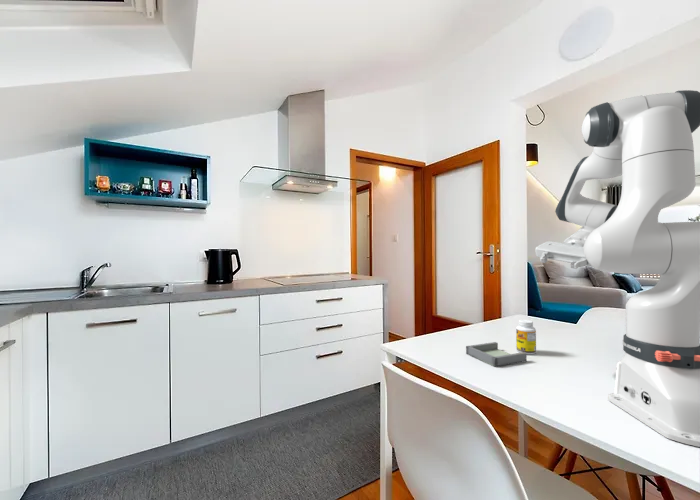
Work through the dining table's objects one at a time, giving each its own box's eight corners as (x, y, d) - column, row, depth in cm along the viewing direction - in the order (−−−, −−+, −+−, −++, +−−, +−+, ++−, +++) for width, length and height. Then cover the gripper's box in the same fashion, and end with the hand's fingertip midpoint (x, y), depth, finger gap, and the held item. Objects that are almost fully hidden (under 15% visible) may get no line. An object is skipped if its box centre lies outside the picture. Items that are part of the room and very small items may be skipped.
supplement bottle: (513, 349, 103) (512, 319, 103) (529, 349, 103) (529, 318, 103) (522, 355, 97) (522, 323, 97) (540, 355, 98) (539, 322, 97)
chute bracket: (495, 349, 104) (495, 341, 104) (526, 361, 92) (526, 353, 92) (466, 353, 100) (466, 346, 100) (494, 367, 88) (494, 358, 88)
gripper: (546, 234, 115) (524, 249, 109) (614, 242, 97) (593, 260, 92) (547, 249, 117) (526, 265, 111) (614, 260, 99) (593, 279, 94)
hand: (557, 263), depth 101 cm, fingers open, 8 cm apart
